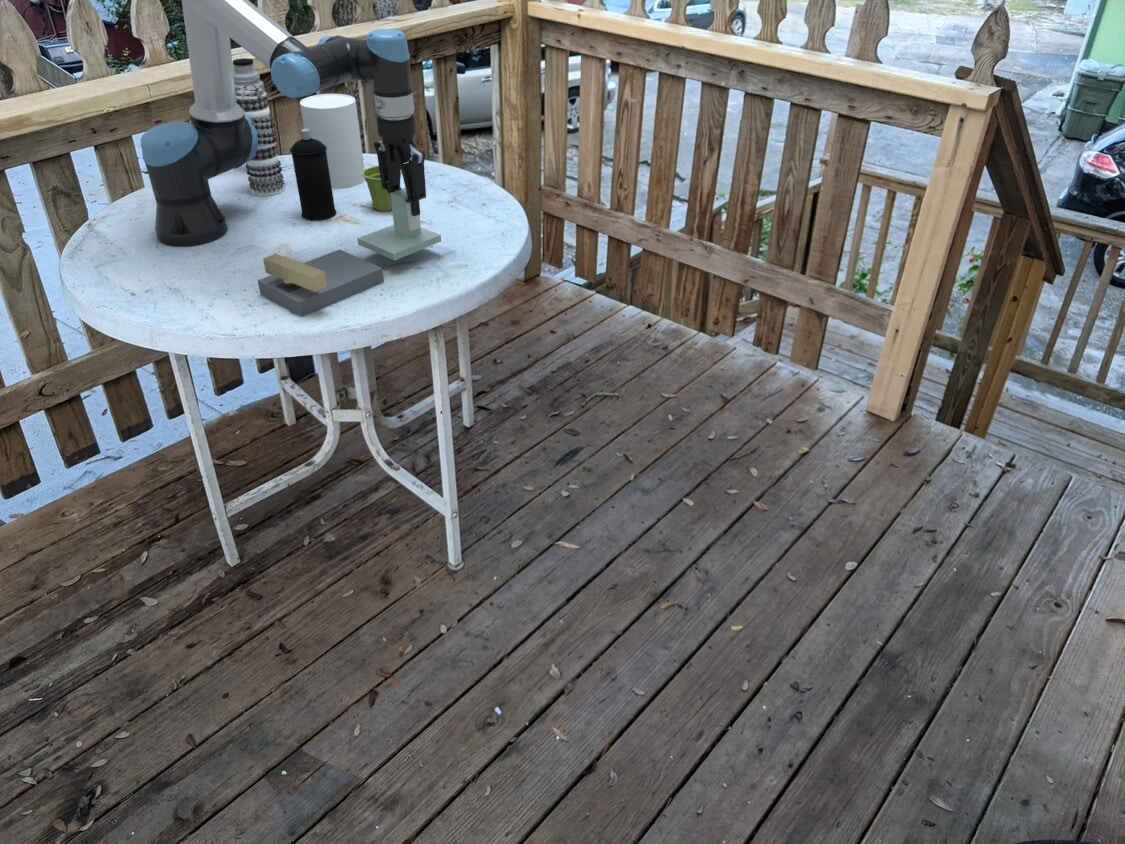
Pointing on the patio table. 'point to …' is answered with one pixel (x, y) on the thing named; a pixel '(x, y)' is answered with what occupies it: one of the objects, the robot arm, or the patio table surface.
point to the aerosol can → (313, 178)
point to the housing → (341, 278)
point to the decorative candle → (261, 143)
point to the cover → (399, 233)
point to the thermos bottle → (246, 74)
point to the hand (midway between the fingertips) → (407, 225)
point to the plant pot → (377, 188)
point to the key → (295, 272)
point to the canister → (336, 135)
